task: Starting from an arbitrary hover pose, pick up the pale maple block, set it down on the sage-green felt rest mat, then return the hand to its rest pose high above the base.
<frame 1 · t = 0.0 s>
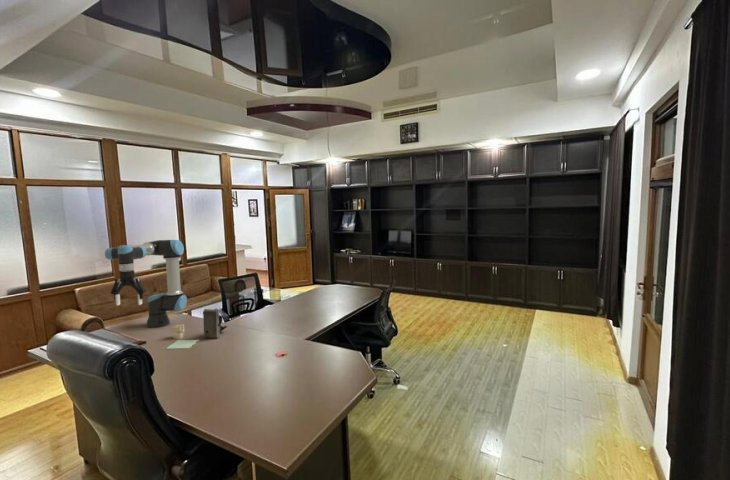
hand: (129, 304, 211), 28 cm above the table, fingers open, 13 cm apart
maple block: (179, 337, 232), on the table
rest mat: (183, 344, 218), on the table
grey upright block: (216, 335, 235), on the table
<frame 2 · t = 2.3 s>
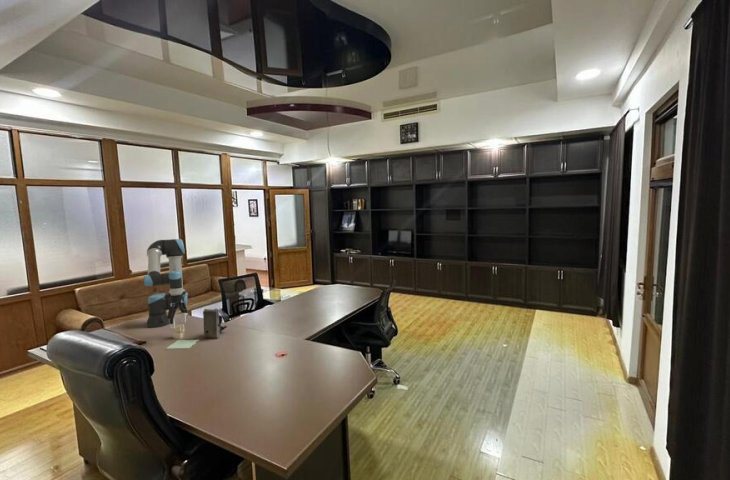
hand: (178, 325, 231), 8 cm above the table, fingers open, 13 cm apart
nothing on the table moved.
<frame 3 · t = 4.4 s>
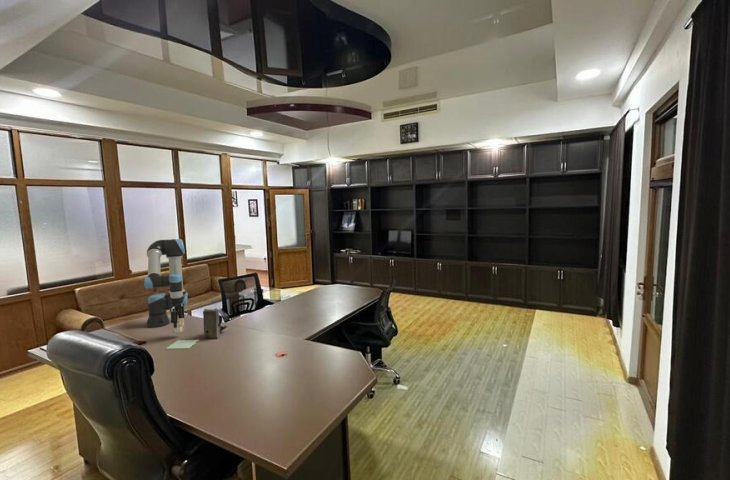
hand: (178, 330, 232), 5 cm above the table, fingers closed on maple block, 5 cm apart
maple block: (178, 331, 232), point 4 cm above the table, touching gripper
everything else where it was.
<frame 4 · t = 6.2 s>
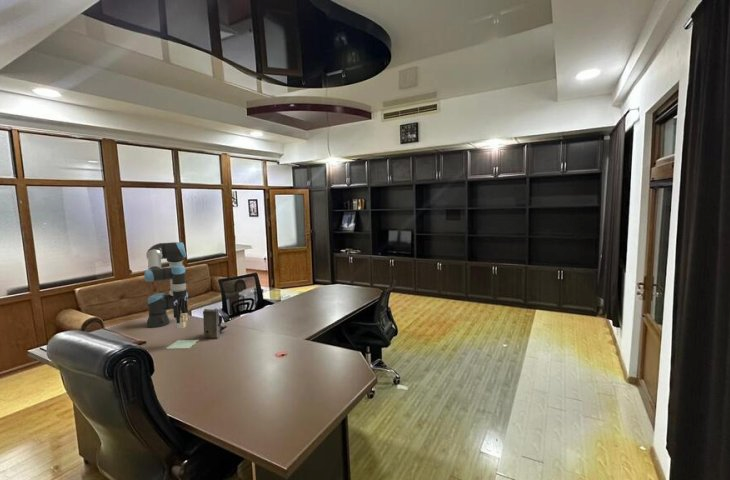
hand: (181, 326, 217), 12 cm above the table, fingers closed on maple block, 5 cm apart
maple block: (181, 326, 217), point 12 cm above the table, touching gripper
everything else where it was.
when the fingers open (1 cm above the table, at t = 8.3 s): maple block stays where it is, resting on rest mat.
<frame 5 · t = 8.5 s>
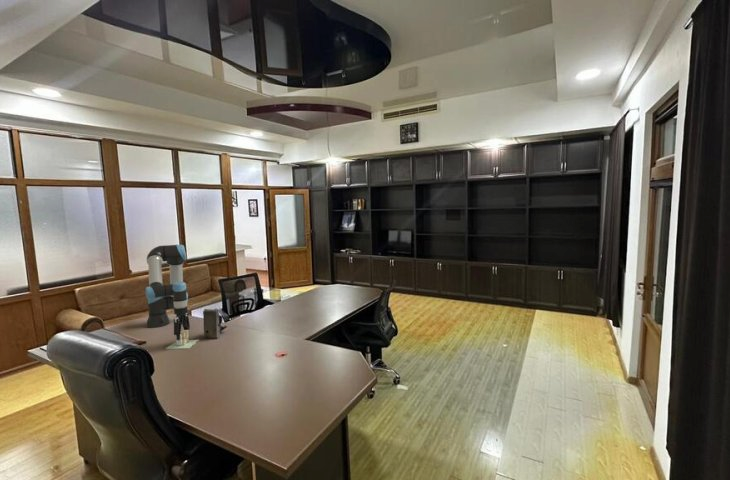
hand: (182, 342, 218), 2 cm above the table, fingers open, 7 cm apart
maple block: (182, 343, 218), resting on rest mat
everything else where it was.
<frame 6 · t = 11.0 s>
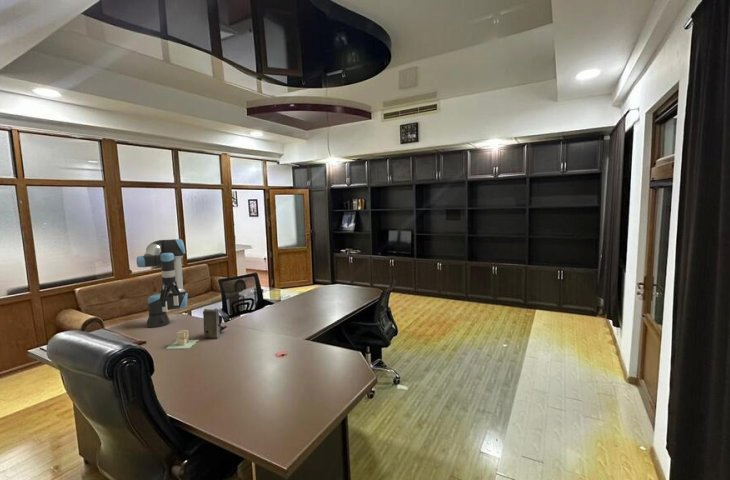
hand: (170, 308, 225), 21 cm above the table, fingers open, 13 cm apart
nothing on the table moved.
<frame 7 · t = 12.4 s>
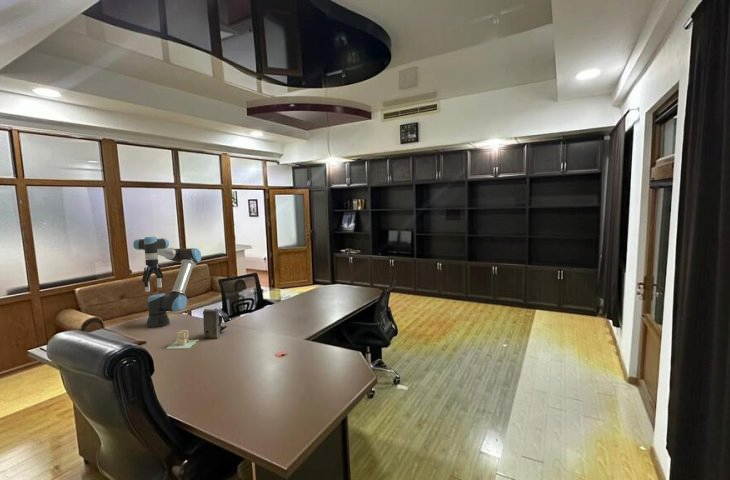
hand: (153, 289, 237), 32 cm above the table, fingers open, 13 cm apart
nothing on the table moved.
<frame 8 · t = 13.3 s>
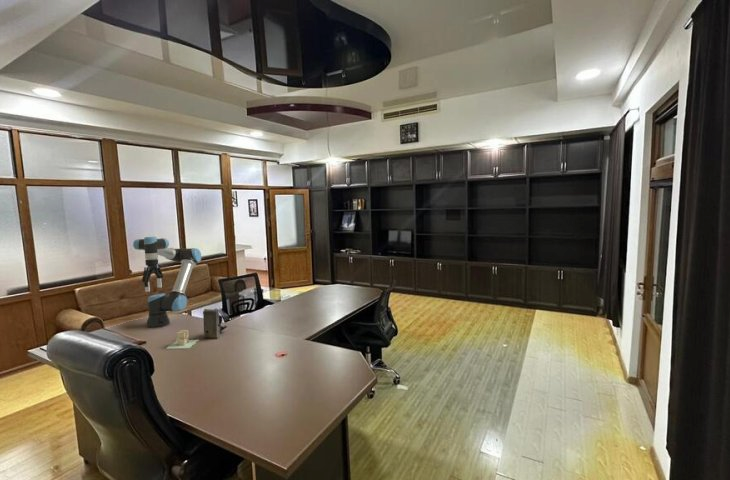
hand: (153, 289, 237), 32 cm above the table, fingers open, 13 cm apart
nothing on the table moved.
at the end: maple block inside the target area on the rest mat (0.0 cm from its centre), point 0.5 cm above the rest mat's base; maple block tilted 0°; the gripper is holding nothing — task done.
